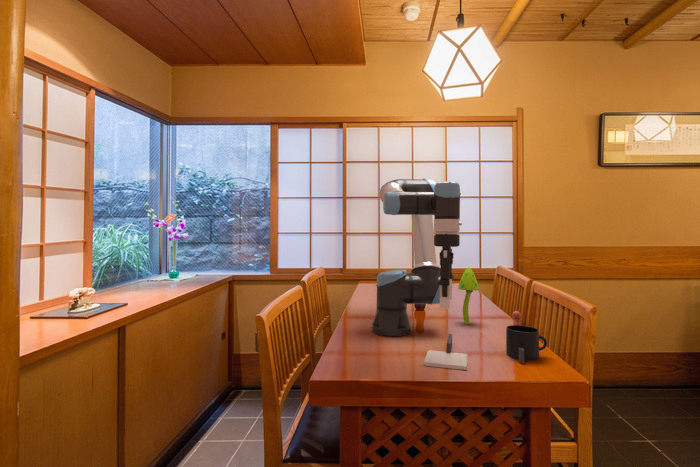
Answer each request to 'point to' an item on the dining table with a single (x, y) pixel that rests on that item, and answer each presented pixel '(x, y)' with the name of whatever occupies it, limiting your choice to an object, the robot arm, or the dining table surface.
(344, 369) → the dining table surface
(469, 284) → the mushroom
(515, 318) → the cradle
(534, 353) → the mug
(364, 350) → the dining table surface
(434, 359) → the plate
